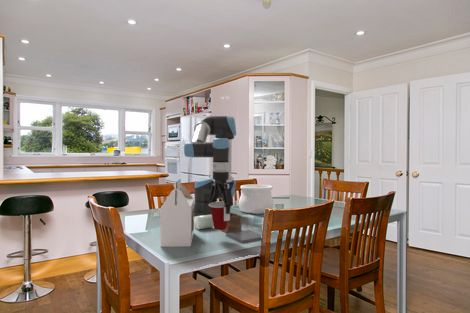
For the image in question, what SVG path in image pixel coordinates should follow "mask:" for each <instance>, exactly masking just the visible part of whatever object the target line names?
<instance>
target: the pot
mask: <svg viewBox="0 0 470 313" xmlns="http://www.w3.org/2000/svg"><path fill="white" fill-rule="evenodd" d="M240 189H241V194H240V197H239V201H238V207H239V210H240V211H241V212H243V213H246V214H251V213H252V214H254V215H256V214H257V215H261V214H265V213H264V211H265V209H266V208H269V209H274V205H275V202H274V198H273V195H272V190H273V186H272V185H269V184H257V183H256V184H254V183H253V184H243V185H240ZM252 214H251V215H252Z"/></svg>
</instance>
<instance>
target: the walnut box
mask: <svg viewBox="0 0 470 313" xmlns="http://www.w3.org/2000/svg"><path fill="white" fill-rule="evenodd" d="M242 220H243V219H242V215H241V214H238V213H234V212H230V220H229V221H228V222H227V227H226V229H225V230H220V231H221V232H223V233H225V234H226V233H232V232H238V231H243V230H242V229H243V228H242V222H243V221H242Z"/></svg>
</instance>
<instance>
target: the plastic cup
mask: <svg viewBox="0 0 470 313" xmlns="http://www.w3.org/2000/svg"><path fill="white" fill-rule="evenodd" d="M209 206H210V209H211V213H212V219H213V225H214V226H213V228H214V230H216V231H217V230H218V231H221V230H225V229H226V227H227V222H228V221H224V206H225V204H224V200H223V201H216V202H214V203H210V204H209ZM231 207H232V206H230V208H231Z"/></svg>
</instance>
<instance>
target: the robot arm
mask: <svg viewBox="0 0 470 313" xmlns="http://www.w3.org/2000/svg"><path fill="white" fill-rule="evenodd" d="M235 119H236V118H234V117H233V116H228V115H215V116H214V115H208V116H205V117H202V118H200V119H199V120H198V121H196V123H195V124H194V127H193V135H192V137H191V141H187V142H185V143H184V145H183V146H184V147H183V154H184V157H187V158H212V171H213V172H212V178H203V179H197V180H195V182H194V217H195V216H203V215H212V213H211V209H210V206H209V204H210V203H214V202H218V199H219V200H223V201H224V204H225V206H224V221H229V220H230V213H231V207H232V206H234V202H233V201H234V200H233V199H234V197H235V194H236V185H237V184H236V183H237V182H236V180H234V177H233V176H232V153H233V152H232V148H233V147H232V142H233V140H234V139H235V136H237V128H236V120H235ZM208 136H214V138H213V140H212V142H211V141H210V142H209V141H208V142H207V137H208ZM230 206H231V207H230Z"/></svg>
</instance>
